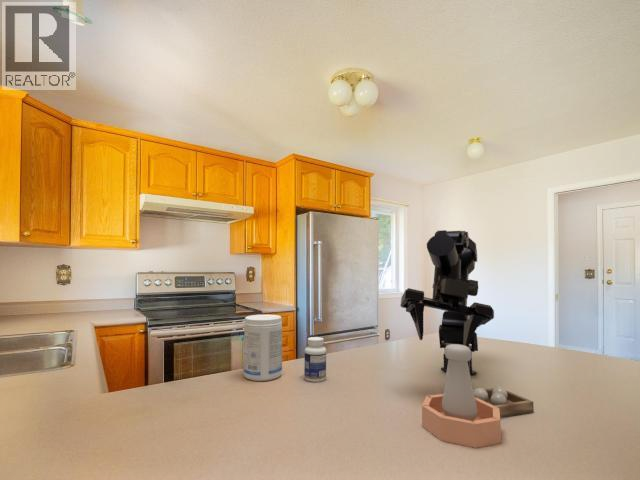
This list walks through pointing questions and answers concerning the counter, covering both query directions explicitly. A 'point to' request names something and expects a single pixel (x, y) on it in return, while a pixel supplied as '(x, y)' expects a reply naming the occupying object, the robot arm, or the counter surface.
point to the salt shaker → (458, 384)
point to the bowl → (462, 424)
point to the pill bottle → (315, 360)
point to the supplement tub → (262, 347)
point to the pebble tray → (512, 405)
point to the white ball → (500, 391)
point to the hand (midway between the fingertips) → (443, 344)
